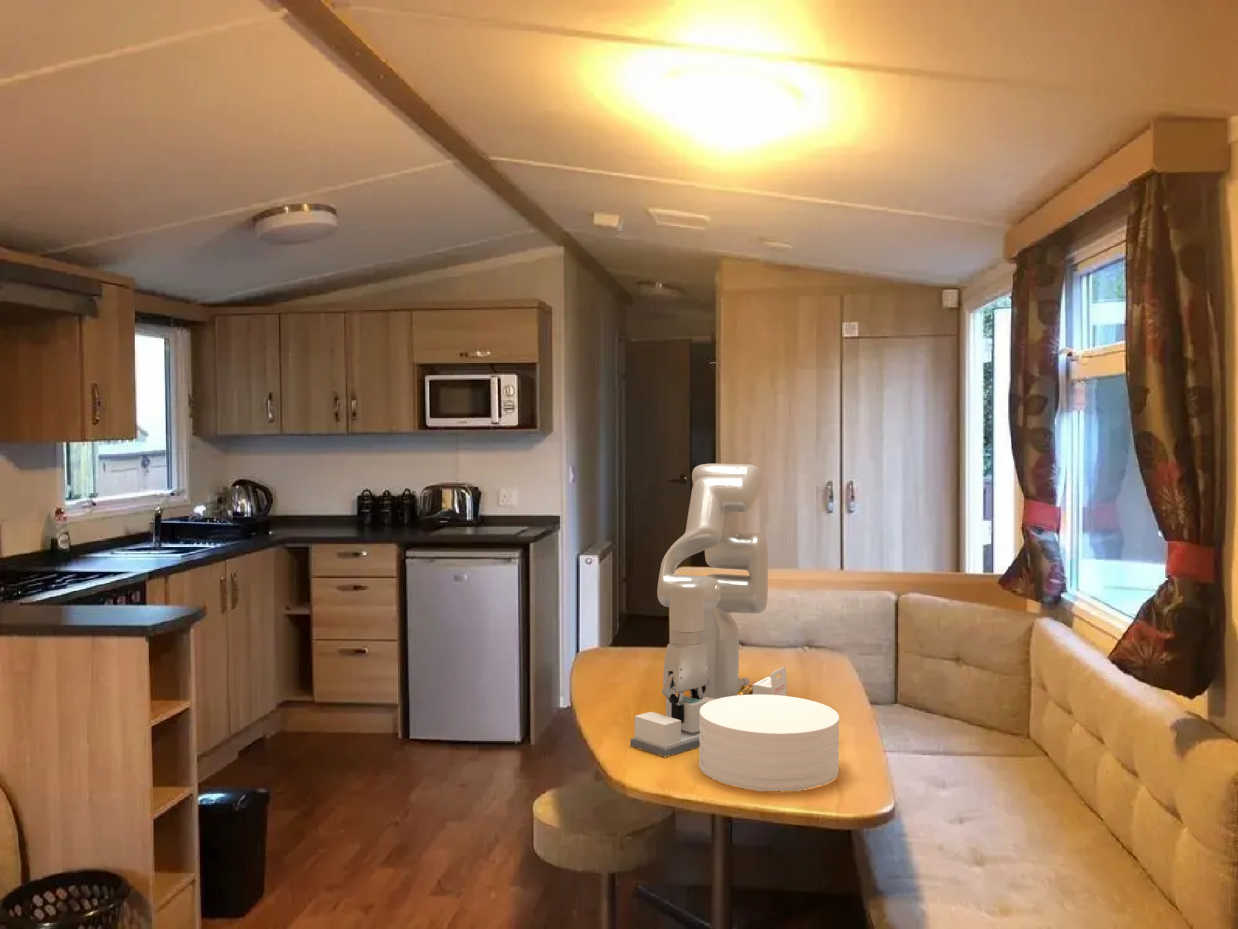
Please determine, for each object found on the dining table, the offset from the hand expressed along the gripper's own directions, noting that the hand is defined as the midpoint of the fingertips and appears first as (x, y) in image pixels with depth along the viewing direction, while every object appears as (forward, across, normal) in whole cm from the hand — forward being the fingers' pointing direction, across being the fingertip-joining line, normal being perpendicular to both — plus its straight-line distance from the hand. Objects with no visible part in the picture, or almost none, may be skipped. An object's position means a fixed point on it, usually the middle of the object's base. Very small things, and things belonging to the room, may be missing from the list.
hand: (686, 718), depth 225 cm
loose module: (+2, 0, 0) cm, 2 cm away
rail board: (+5, 0, 0) cm, 5 cm away
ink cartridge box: (+5, -18, +9) cm, 21 cm away
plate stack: (+5, +1, +24) cm, 24 cm away
